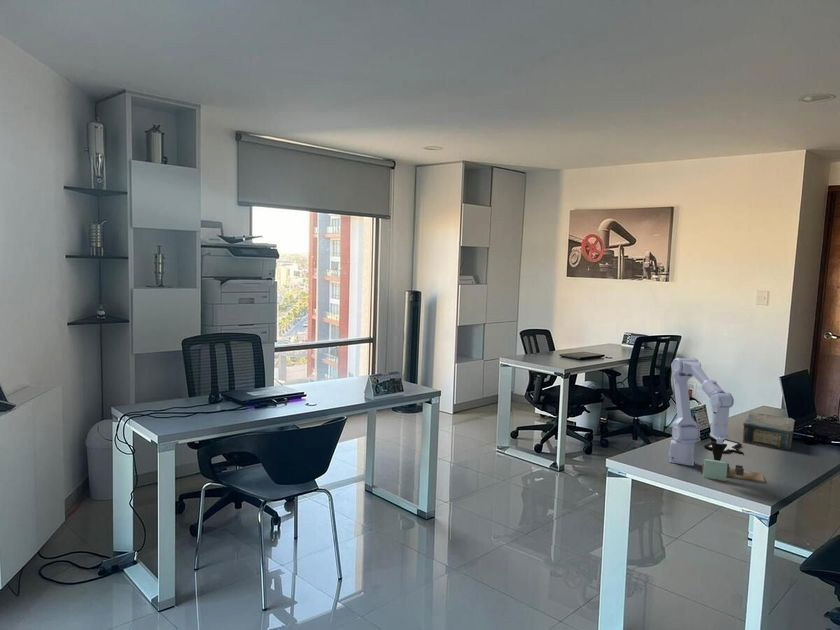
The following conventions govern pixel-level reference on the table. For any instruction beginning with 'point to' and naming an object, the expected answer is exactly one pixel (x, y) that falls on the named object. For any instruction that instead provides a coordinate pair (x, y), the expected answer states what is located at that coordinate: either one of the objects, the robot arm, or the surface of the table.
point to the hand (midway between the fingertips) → (716, 457)
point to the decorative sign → (728, 447)
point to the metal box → (768, 430)
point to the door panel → (715, 469)
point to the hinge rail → (742, 474)
